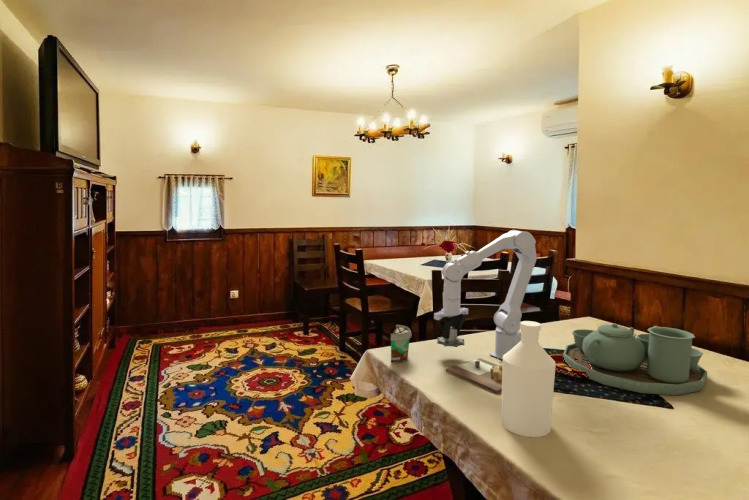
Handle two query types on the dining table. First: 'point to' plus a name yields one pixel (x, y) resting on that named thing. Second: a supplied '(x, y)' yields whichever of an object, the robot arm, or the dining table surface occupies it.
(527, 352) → the bottle
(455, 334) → the planet gear
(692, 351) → the tea set
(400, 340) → the food container
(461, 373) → the carrier board
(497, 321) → the robot arm
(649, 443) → the dining table surface
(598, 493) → the dining table surface
